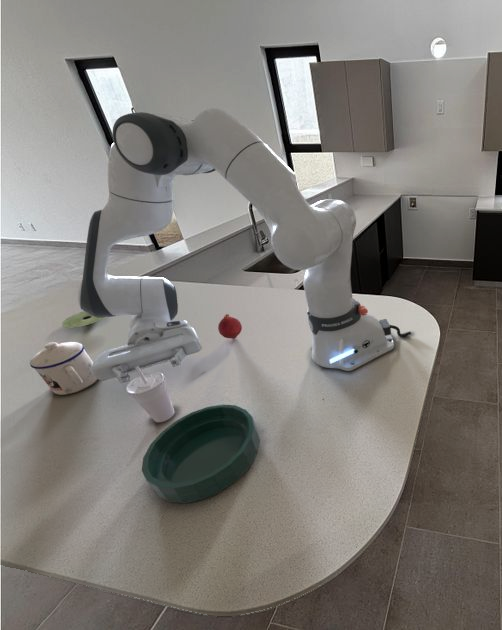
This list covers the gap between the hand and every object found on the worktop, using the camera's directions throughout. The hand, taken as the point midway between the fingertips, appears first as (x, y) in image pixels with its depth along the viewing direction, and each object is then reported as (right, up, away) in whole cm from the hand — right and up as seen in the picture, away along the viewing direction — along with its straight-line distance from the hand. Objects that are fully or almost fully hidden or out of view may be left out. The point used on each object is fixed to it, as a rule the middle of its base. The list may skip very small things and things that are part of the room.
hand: (150, 371), depth 73 cm
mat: (-45, +10, +31) cm, 55 cm away
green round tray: (+19, -15, -10) cm, 26 cm away
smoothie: (+4, -10, -1) cm, 10 cm away
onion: (+5, +5, +24) cm, 25 cm away
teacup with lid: (-23, -5, +7) cm, 25 cm away
